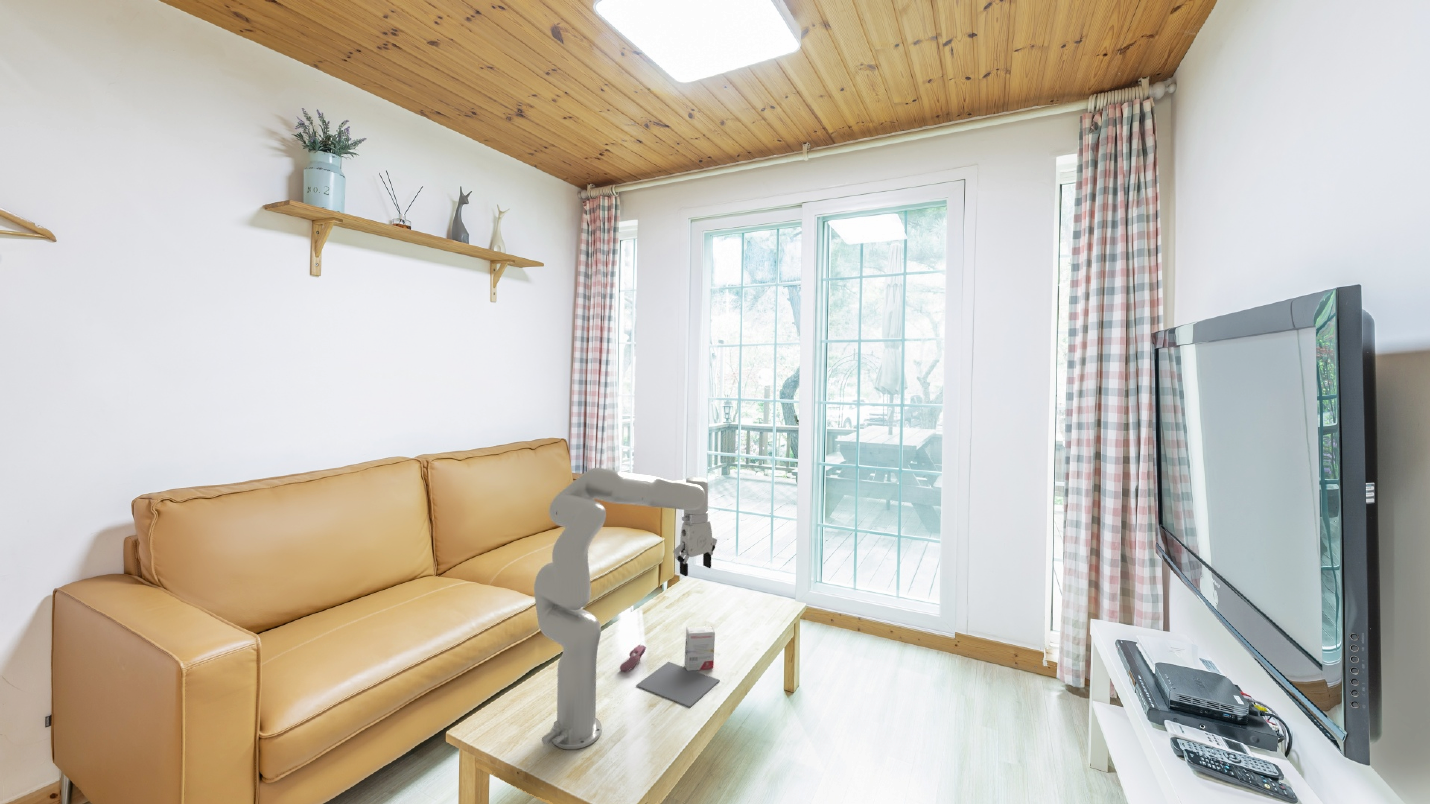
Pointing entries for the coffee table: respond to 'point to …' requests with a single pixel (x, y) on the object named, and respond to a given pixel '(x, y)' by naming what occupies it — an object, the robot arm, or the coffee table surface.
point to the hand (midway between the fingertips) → (695, 570)
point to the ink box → (699, 648)
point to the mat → (678, 684)
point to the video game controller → (633, 658)
